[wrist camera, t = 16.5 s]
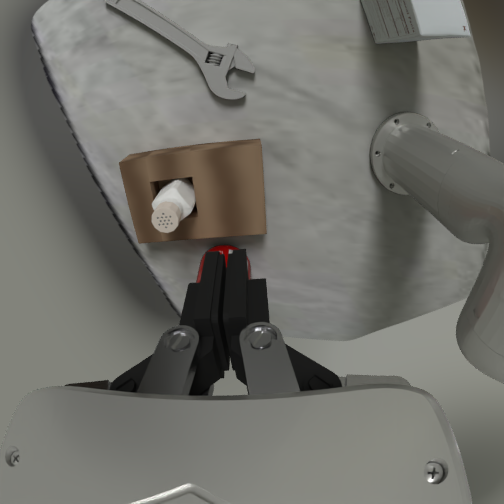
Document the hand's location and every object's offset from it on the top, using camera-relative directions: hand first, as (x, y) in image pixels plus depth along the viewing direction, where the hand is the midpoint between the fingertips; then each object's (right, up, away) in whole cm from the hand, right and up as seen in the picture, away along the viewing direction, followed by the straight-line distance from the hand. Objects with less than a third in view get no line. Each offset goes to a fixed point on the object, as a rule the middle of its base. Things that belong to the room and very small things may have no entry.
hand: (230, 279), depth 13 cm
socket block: (-7, +10, +28) cm, 30 cm away
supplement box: (+19, +32, +15) cm, 40 cm away
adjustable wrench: (-8, +29, +17) cm, 34 cm away
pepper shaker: (-9, +10, +28) cm, 31 cm away
